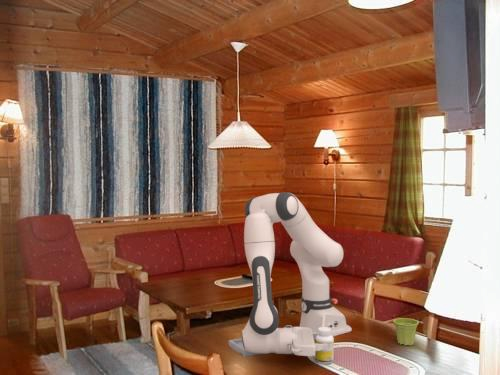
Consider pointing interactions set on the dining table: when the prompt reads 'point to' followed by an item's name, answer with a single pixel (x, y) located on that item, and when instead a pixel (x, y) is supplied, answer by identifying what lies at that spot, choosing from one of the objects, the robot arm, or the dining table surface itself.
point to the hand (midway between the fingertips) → (326, 341)
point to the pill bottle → (325, 354)
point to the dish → (240, 347)
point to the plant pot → (406, 330)
